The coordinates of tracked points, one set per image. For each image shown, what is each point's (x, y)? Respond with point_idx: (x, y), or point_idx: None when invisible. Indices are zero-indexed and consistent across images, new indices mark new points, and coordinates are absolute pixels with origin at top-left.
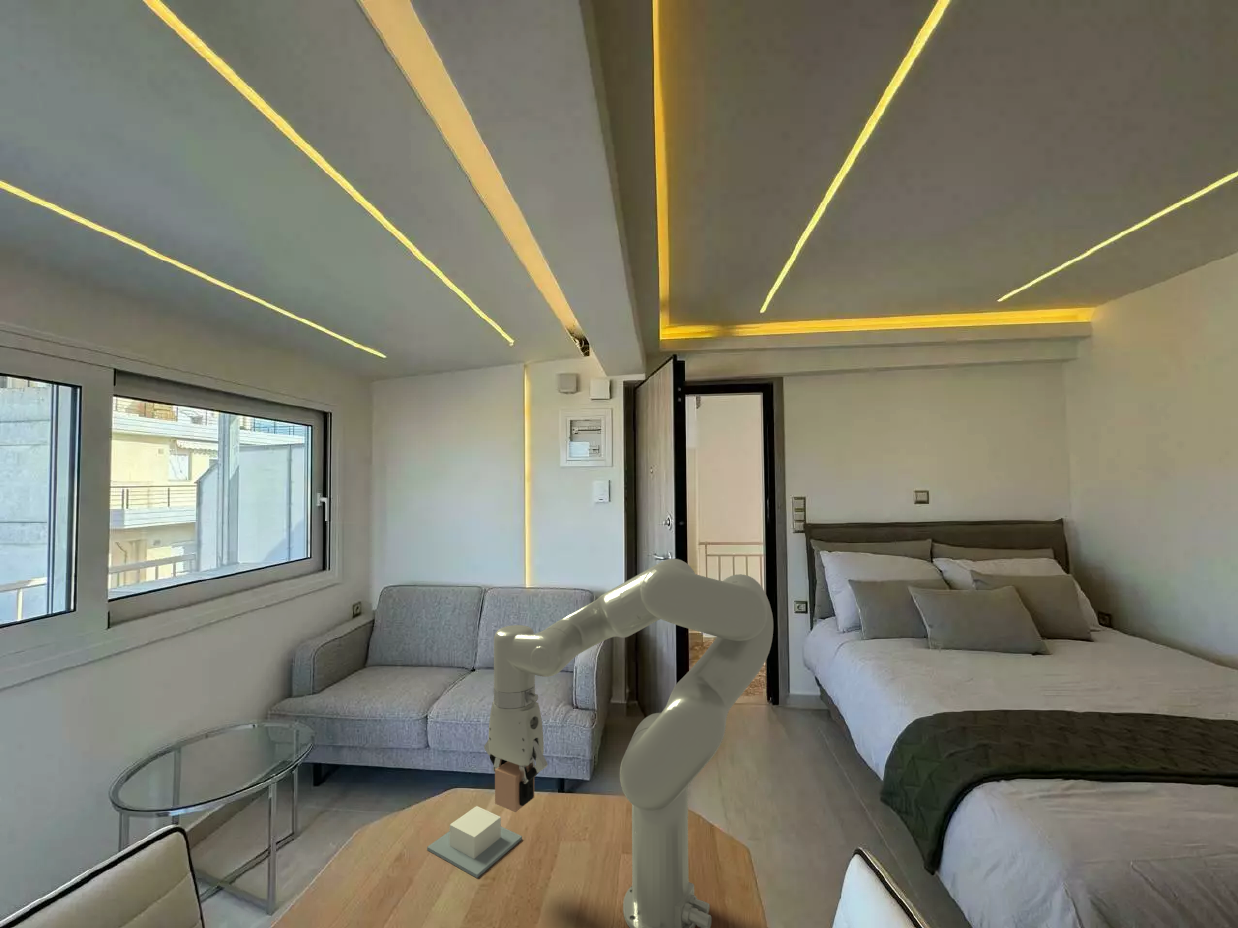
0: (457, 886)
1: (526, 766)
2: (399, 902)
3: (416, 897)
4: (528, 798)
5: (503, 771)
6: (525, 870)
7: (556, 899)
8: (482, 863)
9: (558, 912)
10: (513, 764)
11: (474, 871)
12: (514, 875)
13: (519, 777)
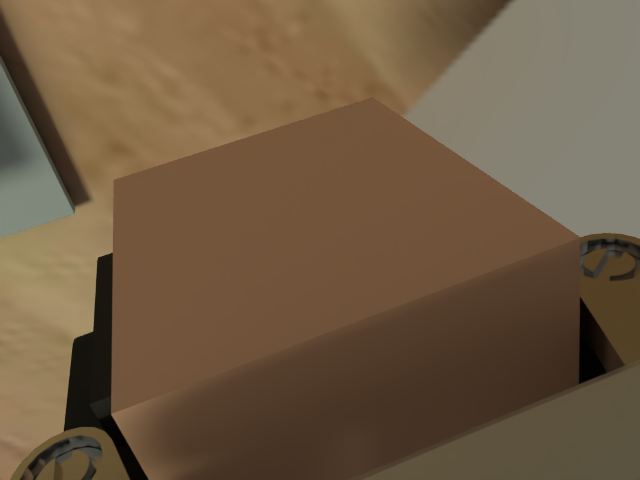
0: (64, 277)
1: (527, 353)
2: (13, 443)
3: (25, 399)
4: None
5: None
6: (166, 12)
7: (395, 8)
8: (14, 168)
9: (442, 41)
10: (327, 474)
11: (47, 215)
12: (161, 70)
13: None
